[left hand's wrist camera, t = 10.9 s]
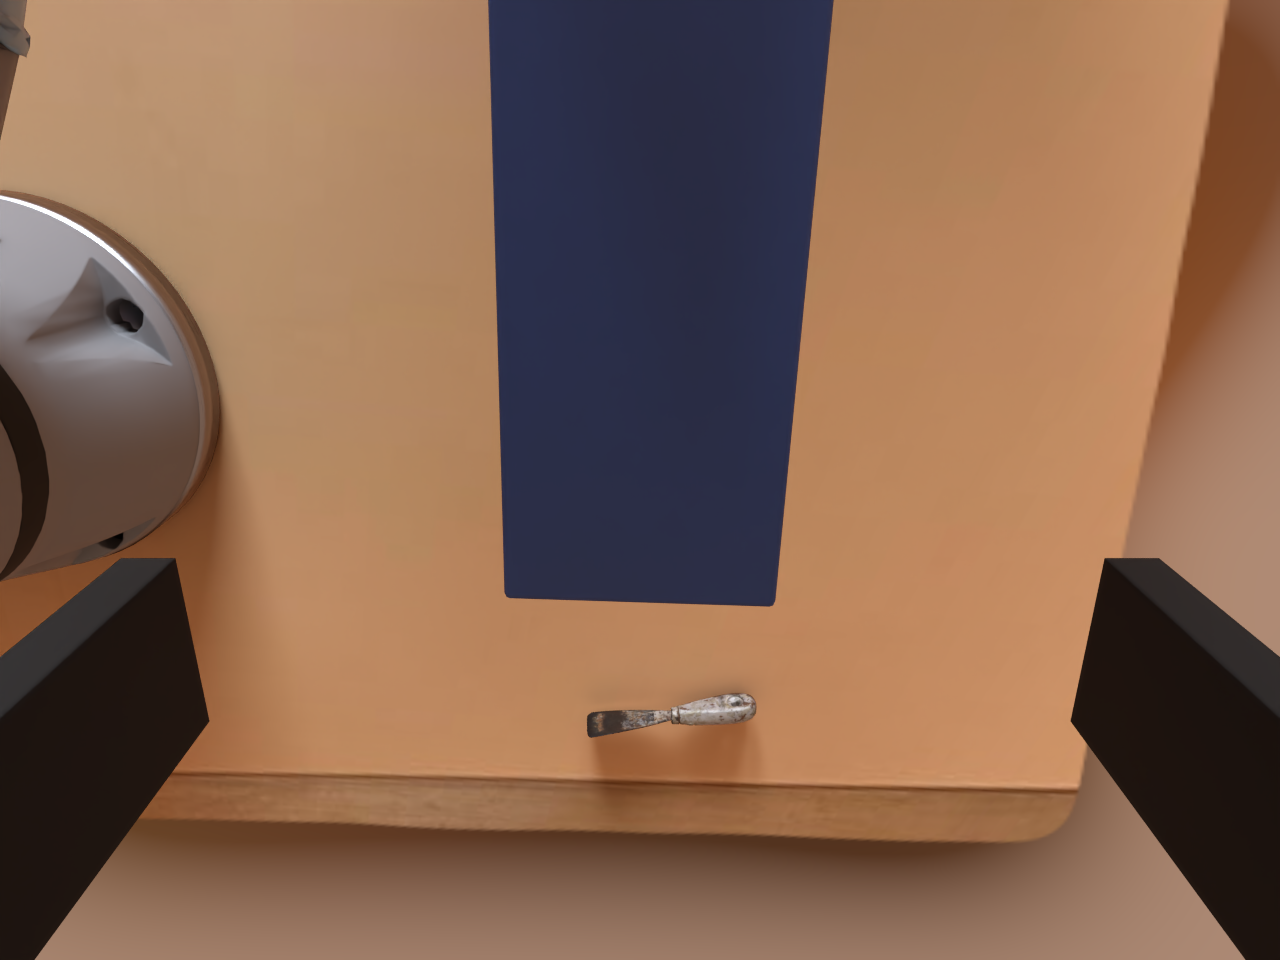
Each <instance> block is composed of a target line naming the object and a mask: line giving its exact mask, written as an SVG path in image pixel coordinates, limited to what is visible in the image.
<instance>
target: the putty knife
mask: <svg viewBox="0 0 1280 960" xmlns="http://www.w3.org/2000/svg"><path fill="white" fill-rule="evenodd" d="M755 714H756V702H755V700H754V698H753V697H752V696H750V695H748V694H743V693H735V694H725V695H719V696H715V697H710V698H706V699H702V700H698V701H694V702H690V703H687V704H683V705H680V706H676V707H672V708H671V711H664V710H624V711H603V712H595V713H594V712H593V713H590V714H589V715H588V716H587V732H588V736H589V737H591V738H592V737H598V736H603V735H608V734H614V733H619V732H623V731H629V730H633V729H638V728H643V727H647V726H651V725H655V724H659V723H662V722H666V721H670V720H672V721H671V722H672V724H679V723H680V724H685V725H723V724H734V723H741V722H745V721H748V720H750V719H752V718H753V717H754V715H755Z"/></svg>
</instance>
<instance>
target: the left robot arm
mask: <svg viewBox="0 0 1280 960" xmlns="http://www.w3.org/2000/svg"><path fill="white" fill-rule="evenodd" d="M26 3H27V0H0V138H1V134H2V129H3V125H4V121H5V116H6V112H7V107H8V103H9V98H10V94H11V89H12V85H13V80H14V76H15V71H16V67H17V63H18V58H19V55H22V56H25V57H26V56H27V53H28V51H29V48H30V35H29V34H28V33H27V31H26V30H25V28H24V20H25V12H26ZM219 418H220V408H219V393H218V386H217V379H216V375H215V371H214V366H213V362H212V359H211V356H210V353H209V350H208V347H207V345H206V342H205V340H204V338H203V335H202V333H201V331H200V329H199V327H198V325H197V323H196V321H195V319H194V317H193V316H192V314H191V312H190V310H189V309H188V307H187V306H186V304H185V302H184V301H183V299H182V298H181V296H180V295H179V293H178V292H177V291H176V290H175V288H174V287H173V286H172V285H171V283H170V282H169V281H168V279H167V278H166V277H165V276H164V275H163V274H162V273H161V272H160V270H159V269H158V268H157V267H156V266H155V265H154V264H153V263H152V262H151V261H150V260H149V259H148V258H147V257H146V256H145V255H143V254H142V253H141V252H140V251H139V250H138V249H137V248H136V247H135V246H133V245H132V244H131V243H129V242H128V241H127V240H126V239H124V238H123V237H122V236H120V235H119V234H118V233H116V232H115V231H113V230H111V229H110V228H108V227H107V226H105V225H104V224H102V223H101V222H99V221H97V220H95V219H93V218H91V217H90V216H88V215H86V214H84V213H82V212H80V211H77V210H75V209H73V208H71V207H68V206H66V205H64V204H61V203H58V202H55V201H52V200H49V199H46V198H43V197H38V196H34V195H30V194H26V193H20V192H13V191H6V190H0V581H3V580H8V579H12V578H17V577H21V576H26V575H30V574H35V573H39V572H44V571H48V570H53V569H57V568H62V567H66V566H70V565H74V564H80V563H84V562H88V561H91V560H95V559H99V558H101V557H105V556H108V555H111V554H114V553H116V552H119V551H121V550H124V549H126V548H128V547H130V546H132V545H134V544H135V543H137V542H139V541H140V540H142V539H143V538H145V537H146V536H148V535H149V534H150V533H152V532H153V531H154V530H155V529H157V528H158V527H159V526H161V525H162V524H163V523H164V522H166V521H167V520H168V519H169V518H171V517H172V516H173V515H174V514H176V513H177V512H178V511H179V510H180V509H181V508H182V507H183V506H184V505H185V504H186V503H187V502H188V501H189V499H190V498H191V497H192V495H193V494H194V493H195V491H196V490H197V489H198V487H199V485H200V484H201V482H202V480H203V478H204V477H205V475H206V472H207V470H208V468H209V466H210V463H211V461H212V457H213V454H214V451H215V447H216V442H217V437H218V431H219ZM208 722H209V717H208V712H207V708H206V703H205V698H204V693H203V688H202V684H201V679H200V674H199V669H198V665H197V660H196V655H195V650H194V645H193V641H192V636H191V631H190V626H189V622H188V617H187V612H186V607H185V602H184V598H183V593H182V588H181V583H180V579H179V574H178V569H177V564H176V559H175V558H121V559H120V560H118V561H117V562H116V563H115V564H113V565H112V566H111V567H110V568H109V569H107V570H106V571H105V572H104V573H102V574H101V575H100V576H99V577H98V578H96V579H95V580H94V581H93V582H91V583H90V584H89V585H88V586H87V587H85V588H84V589H83V590H82V591H80V592H79V593H78V594H77V595H76V596H74V597H73V598H72V599H71V600H69V601H68V602H67V603H66V604H65V605H63V606H62V607H61V608H60V609H58V610H57V611H56V612H55V613H54V614H52V615H51V616H50V617H49V618H47V619H46V620H45V621H44V622H43V623H41V624H40V625H39V626H38V627H36V628H35V629H34V630H33V631H31V632H30V633H29V634H28V635H27V636H25V637H24V638H23V639H22V640H20V641H19V642H18V643H17V644H16V645H14V646H13V647H12V648H11V649H9V650H8V651H7V652H6V653H5V654H3V655H2V656H1V657H0V960H35V958H36V957H37V956H38V954H39V953H40V951H41V950H42V949H43V947H44V946H45V945H46V943H47V942H48V941H49V939H50V938H51V936H52V935H53V934H54V932H55V931H56V930H57V928H58V927H59V926H60V924H61V923H62V921H63V920H64V919H65V917H66V916H67V915H68V913H69V912H70V911H71V909H72V908H73V906H74V905H75V904H76V902H77V901H78V900H79V898H80V897H81V896H82V894H83V893H84V891H85V890H86V889H87V887H88V886H89V885H90V883H91V882H92V881H93V879H94V878H95V876H96V875H97V874H98V872H99V871H100V870H101V868H102V867H103V866H104V864H105V863H106V861H107V860H108V859H109V857H110V856H111V855H112V853H113V852H114V851H115V849H116V848H117V846H118V845H119V844H120V842H121V841H122V840H123V838H124V837H125V836H126V834H127V833H128V831H129V830H130V829H131V827H132V826H133V825H134V823H135V822H136V821H137V819H138V818H139V816H140V815H141V814H142V812H143V811H144V810H145V808H146V807H147V806H148V804H149V803H150V801H151V800H152V799H153V797H154V796H155V795H156V793H157V792H158V791H159V789H160V788H161V786H162V785H163V784H164V782H165V781H166V780H167V778H168V777H169V776H170V774H171V773H172V771H173V770H174V769H175V767H176V766H177V765H178V763H179V762H180V761H181V759H182V758H183V756H184V755H185V754H186V752H187V751H188V750H189V748H190V747H191V746H192V744H193V743H194V741H195V740H196V739H197V737H198V736H199V735H200V733H201V732H202V731H203V729H204V728H205V726H206V725H207V724H208ZM1071 722H1072V724H1073V725H1074V726H1075V728H1076V729H1077V731H1078V732H1079V733H1080V735H1081V736H1082V737H1083V739H1084V740H1085V741H1086V743H1087V744H1088V746H1089V747H1090V748H1091V750H1092V751H1093V752H1094V754H1095V755H1096V756H1097V758H1098V759H1099V761H1100V762H1101V763H1102V765H1103V766H1104V767H1105V769H1106V770H1107V771H1108V773H1109V774H1110V776H1111V777H1112V778H1113V780H1114V781H1115V782H1116V784H1117V785H1118V786H1119V788H1120V789H1121V791H1122V792H1123V793H1124V795H1125V796H1126V797H1127V799H1128V800H1129V801H1130V803H1131V804H1132V805H1133V807H1134V808H1135V810H1136V811H1137V812H1138V814H1139V815H1140V816H1141V818H1142V819H1143V821H1144V822H1145V823H1146V825H1147V826H1148V827H1149V829H1150V830H1151V831H1152V833H1153V834H1154V836H1155V837H1156V838H1157V840H1158V841H1159V842H1160V844H1161V845H1162V846H1163V848H1164V849H1165V851H1166V852H1167V853H1168V855H1169V856H1170V857H1171V859H1172V860H1173V861H1174V863H1175V864H1176V865H1177V867H1178V868H1179V870H1180V871H1181V872H1182V874H1183V875H1184V876H1185V878H1186V879H1187V881H1188V882H1189V883H1190V885H1191V886H1192V887H1193V889H1194V890H1195V891H1196V893H1197V894H1198V896H1199V897H1200V898H1201V900H1202V901H1203V902H1204V904H1205V905H1206V906H1207V908H1208V909H1209V911H1210V912H1211V913H1212V915H1213V916H1214V917H1215V919H1216V920H1217V921H1218V923H1219V924H1220V926H1221V927H1222V928H1223V930H1224V931H1225V932H1226V934H1227V935H1228V936H1229V938H1230V939H1231V941H1232V942H1233V943H1234V945H1235V946H1236V947H1237V949H1238V950H1239V951H1240V953H1241V954H1242V956H1243V957H1244V958H1245V960H1280V657H1279V656H1278V655H1277V654H1275V653H1274V652H1273V651H1272V650H1271V649H1269V648H1268V647H1267V646H1266V645H1264V644H1263V643H1262V642H1261V641H1259V640H1258V639H1257V638H1256V637H1254V636H1253V635H1252V634H1251V633H1250V632H1249V631H1247V630H1246V629H1245V628H1244V627H1242V626H1241V625H1240V624H1239V623H1237V622H1236V621H1235V620H1234V619H1233V618H1231V617H1230V616H1229V615H1228V614H1226V613H1225V612H1224V611H1223V610H1222V609H1220V608H1219V607H1218V606H1217V605H1215V604H1214V603H1213V602H1212V601H1211V600H1209V599H1208V598H1207V597H1206V596H1204V595H1203V594H1202V593H1201V592H1200V591H1198V590H1197V589H1196V588H1195V587H1193V586H1192V585H1191V584H1190V583H1189V582H1187V581H1186V580H1185V579H1184V578H1182V577H1181V576H1180V575H1179V574H1178V573H1176V572H1175V571H1174V570H1173V569H1171V568H1170V567H1169V566H1168V565H1167V564H1165V563H1164V562H1163V561H1162V560H1160V559H1159V558H1105V559H1104V564H1103V569H1102V574H1101V578H1100V583H1099V588H1098V593H1097V598H1096V602H1095V607H1094V612H1093V617H1092V621H1091V626H1090V631H1089V636H1088V641H1087V645H1086V650H1085V655H1084V660H1083V665H1082V669H1081V674H1080V679H1079V684H1078V688H1077V693H1076V698H1075V703H1074V708H1073V712H1072V717H1071Z"/></svg>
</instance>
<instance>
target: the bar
mask: <svg viewBox="0 0 1280 960" xmlns="http://www.w3.org/2000/svg"><path fill="white" fill-rule="evenodd" d="M833 1H834V0H488V8H489V44H490V80H491V117H492V153H493V189H494V226H495V262H496V299H497V335H498V371H499V408H500V444H501V480H502V517H503V553H504V589H505V594H506V596H507V597H508V598H524V599H555V600H586V601H616V602H647V603H678V604H709V605H740V606H773V604H774V602H775V598H776V587H777V577H778V567H779V556H780V546H781V536H782V525H783V515H784V505H785V495H786V484H787V474H788V464H789V453H790V443H791V433H792V423H793V412H794V402H795V392H796V381H797V371H798V361H799V351H800V340H801V330H802V320H803V309H804V299H805V289H806V279H807V268H808V258H809V248H810V237H811V227H812V217H813V206H814V196H815V186H816V176H817V165H818V155H819V145H820V134H821V124H822V114H823V104H824V93H825V83H826V73H827V62H828V52H829V42H830V32H831V21H832V11H833Z"/></svg>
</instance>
